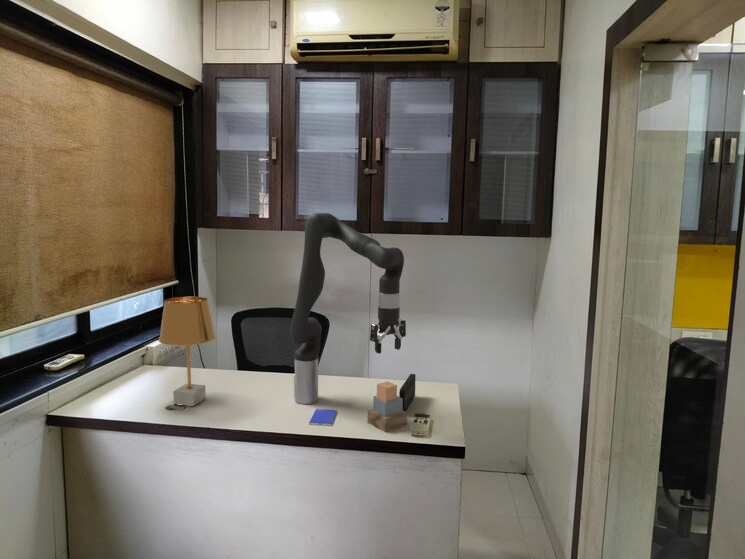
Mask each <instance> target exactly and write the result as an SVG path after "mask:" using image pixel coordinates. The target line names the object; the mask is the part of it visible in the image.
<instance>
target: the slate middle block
mask: <svg viewBox="0 0 745 559" xmlns="http://www.w3.org/2000/svg"><path fill="white" fill-rule="evenodd" d="M372 398H373V400H372V402H373V404H372V405H373V407H372V409H373V410H375V411H376V412H378V413H380V414H381V415H383V416H385V417H386V416H390V415H394V414H398V413H402V409H403V399H402V398H400V397H399V395H397V399H394V400H391V401H388V402H385V401H383V400H381V399H378V398H377V395H374V396H373V397H372Z"/></svg>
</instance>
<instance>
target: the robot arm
mask: <svg viewBox="0 0 745 559" xmlns="http://www.w3.org/2000/svg"><path fill="white" fill-rule="evenodd" d="M327 238H328V239H329V238H332V239H336V240H338V241H341V242H343V243H344V244H345V245H346V246H347V247H348V248H349V249H350V250H351V251H353V252H354V253H356V254H358V255H360V256H362V257H363V258H365V259H368V260H369V261H370V262H371V263H372V264H374V265H375V266H376V267H378V268H381V269H383V270H384V273H383V275H381V276H380V278H379V282H378V284H379V285H378V286H379V288H378V298H377V319H378V323H371V324H370V332H369V333H370V334H369V335H370V336H369V341H371V342H374V352H375V353H376V354H382V341H383V339H384V338H386V336H390V335H393V336H394V349H395V350H400V349H401V347H402V339H403V338H405V337H406V335H407V330H406V329H407V324H406V320H404V319H401V317H400V316H401V315H400V314H401V313H400V311H401V307H400V306H401V297H400V285H401V284H400V281H401V277H402V274H403V269H404V264H405V256H404V254H403V253H404V252H403V251H402V250H401V249H400V248H399V247H396V246H395V247H384V246H381V244H380V242H379V241H378V240H376V239H374V238H372V237H370V236H368V235H366V234H364V233H361V232H360V231H357V229H353V228H352V227H350V226H349V225H347V224H346V223H344V222H343V221H342V220H340V219H339V218H337V217H336V216H334V215H333V214H331V213H329V212H318V213H316V212H315V213H312V214H309V216H308V217H307V219H306V221H305V227H304V246H303V247H304V248H303V256H302V263H301V270H300V275H299V282H298V291H297V297H296V300H295V307H294V310H293V313H292V314H293V315H292V319H291V322H290V329H289V333H290V338H291V341H293V343H295V344H301V345H300V347H299V348H297V349H296V350H295V352H294V375H293V388H294V389H293V390H294V391H293V392H294V394H293V398H294V402H296V403H297V404H301V405H310V404H314V403H316V402H318V401H319V353H320V350H321V337H322V334H321V333H322V331H321V330H322V329H321V324H320V322H319V320H318V319H317V318H316V317H311V316H310V313H311V310H312V308H313V307H314V305H315V303H316V302H317V301H318V299H319V297H320V296H321V295H322V292H323V289H324V283H325V278H326V269H325V265H324V263H323V259H322V257H321V248H322V243H323V242H322V241H323V239H327Z"/></svg>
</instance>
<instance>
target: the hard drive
mask: <svg viewBox="0 0 745 559" xmlns="http://www.w3.org/2000/svg"><path fill="white" fill-rule="evenodd" d="M337 413H338V410H337V409H329V408H327V409H326V408H316V409H315V410H314V412H313V413H312V416H311V418H310V419H309V422H308V425H309V424H310V425H309V426H324V427H325V426H328V427H332V426H333V424H334V420H335V418H336V416H337Z"/></svg>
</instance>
